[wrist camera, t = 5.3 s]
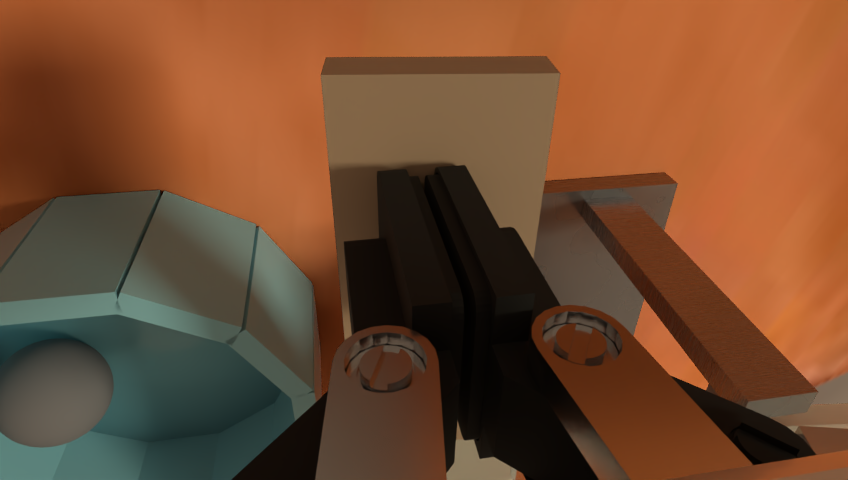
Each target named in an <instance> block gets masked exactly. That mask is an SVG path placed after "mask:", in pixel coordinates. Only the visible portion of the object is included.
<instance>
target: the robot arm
mask: <svg viewBox="0 0 848 480" xmlns="http://www.w3.org/2000/svg"><path fill="white" fill-rule="evenodd" d="M377 198H378V225H379V238H376V239H365V240H353V241H344V255H345V268H346V280H347V292H348V303H349V313H350V323H351V332H352V336H350V337H349V338H347V339H346V340H345V341H344V342H343V343H342V344H341V345H340V346H339V348H338V349H337V350H336V353H335V356H334V358H333V361H332V368H331V375H330V382H329V388H328V391H327V392H326V393H325V394H324V395H323V396H322V397H321V398H320V399H319V400H318V401H317V402H315V403H314V404H313V405H312V406H311V407H310V408H309V409H308V410H307V411H306V412H304V413H303V414H302V415H301V416H300V417H299V418H298V419H297V420H296V421H295V422H294V423H292V424H291V425H290V426H289V427H288V428H287V429H286V430H285V431H284V432H283V433H282V434H280V435H279V436H278V437H277V438H276V439H275V440H274V441H273V442H272V443H271V444H270V445H268V446H267V447H266V448H265V449H264V450H263V451H262V452H261V453H260V454H259V455H257V456H256V457H255V458H254V459H253V460H252V461H251V462H250V463H249V464H248V465H247V466H245V467H244V468H243V469H242V470H241V471H240V472H239V473H238V474H237V475H236V476H235V477H233V478H232V479H231V480H447V477H446V473H447V472H448V471H449V469H450V468H451V467H452V465H453V464H454V460H455V445H456V435H457V421H458V424H459V427H460V431H461V434H462V437H463V439H464V440H465V441H466V440H473V439H474V442H475V445H476V449H477V452H478V455H479V459H483V458H490V457H495V458H496V459H498V460H500V461H502V462H503V463H505V464H507V465H509V466H510V475H511V478H512V480H848V429H844V428H827V427H810V426H798V428H797V430H796V431H795V432H793V431H792V430H791V429H789V428H788V427H786V426H785V425H783V424H781V423H779V422H777V421H775V420H773V419H771V418H769V417H767V416H765V415H762V414H760V413H758V412H755V411H753V410H750V409H748V408H746V407H743V406H741V405H739V404H736V403H734V402H732V401H729V400H727V399H724V398H722V397H720V396H717V395H715V394H713V393H710V392H708V391H706V390H703V389H701V388H698V387H696V386H694V385H691V384H689V383H687V382H684V381H682V380H680V379H677V378H675V377H672V376H670V375H669V374H668V373H667V372H666V371H665V370H664V369H663V367H662V366H661V365H660V364H659V363H658V362H657V361H656V360H655V359H654V358H653V357H652V356H651V355H650V354H649V352H648V351H647V350H646V349H645V348H644V347H643V346H642V345H641V344H640V343H639V342H638V341H637V340H636V339H635V337H634V336H633V335H632V334H631V333H630V332H629V331H628V330H627V329H626V328H625V327H624V326H623V325H622V324H621V323H619V322H618V321H617V320H616V319H615V318H613V317H611V316H610V315H608V314H606V313H604V312H602V311H600V310H596V309H593V308H589V307H586V306H578V305H564V306H561V305H560V303H559V302H558V300H557V298H556V297H555V295H554V293H553V291H552V290H551V288H550V286H549V285H548V283H547V281H546V280H545V278H544V276H543V274H542V273H541V271H540V269H539V268H538V266H537V264H536V263H535V261H534V259H533V258H532V256H531V254H530V252H529V251H528V249H527V247H526V246H525V244H524V242H523V241H522V239H521V237H520V235H519V234H518V232H517V231H516V230H515V228H513V227H503V228H499V226H498V224H497V222H496V220H495V218H494V217H493V215H492V213H491V211H490V209H489V208H488V206H487V204H486V202H485V200H484V198H483V197H482V195H481V193H480V191H479V189H478V187H477V186H476V184H475V182H474V180H473V178H472V176H471V175H470V173H469V171H468V169H467V167H466V166H465V165H459V166H444V167H436V168H435V172H434V175H426V176H425V182H424V190H423V187H422V185H421V182H420V179H419V177H418V176H409V175H408V172H407V170H406V169H400V170H386V171H377Z"/></svg>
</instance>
